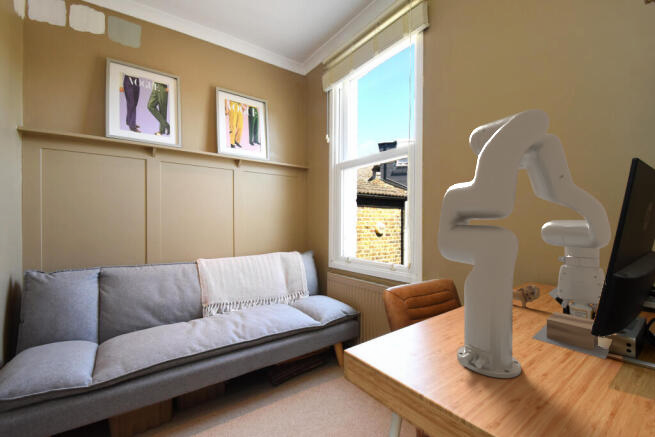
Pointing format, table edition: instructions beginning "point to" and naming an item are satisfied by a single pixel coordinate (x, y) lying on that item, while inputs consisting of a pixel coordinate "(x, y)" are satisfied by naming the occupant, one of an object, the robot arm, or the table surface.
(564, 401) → the table surface
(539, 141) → the robot arm
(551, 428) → the table surface
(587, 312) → the supplement bottle
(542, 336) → the base plate
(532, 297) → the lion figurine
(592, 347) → the walnut block
